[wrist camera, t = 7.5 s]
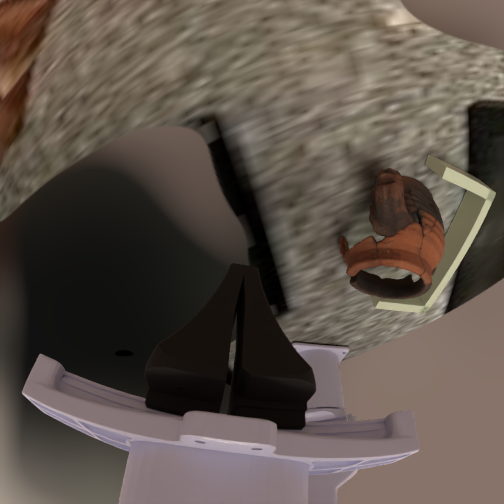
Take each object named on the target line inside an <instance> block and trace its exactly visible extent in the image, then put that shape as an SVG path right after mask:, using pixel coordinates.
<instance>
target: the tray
mask: <svg viewBox="0 0 504 504" xmlns="http://www.w3.org/2000/svg"><path fill="white" fill-rule="evenodd" d="M425 165H426V166H427V167H429V168H430V169H431V170H432V171H434V172H435V173H436V174H437V175H439V176H440V177H441V178H443V179H445V180H447V181H449V182H452V183H454V184H456V185H458V186H460V187H462V188H464V189H467V190H466V193H465V195H464V197H463V200H462V202H461V204H460V206H459V208H458V211H457V213H456V215H455V217H454V219H453V221H452V223H451V225H450V227H449V229H448V231H447V233H446V235H445V237H444V240H445V247H444V254H443V257H442V258H441V261H440V262H439V263H438V265H437V268H436V271H435V272H434V274H433V276H432V286H431V288H430V289H429V290H428V291H427V292H426V293H425V294H423V295H421V296H419V297H415V298H409V299H387V298H380V297H377V296H372V295H371V298H372V301H373V304H374V307H375V308H378V309H387V310H397V311H407V312H418V313H426V312H427V311H428V310H429V308H430V307H431V306H432V304H433V303H434V301H435V300H436V299H437V297H438V296H439V294H440V293H441V291H442V290H443V289H444V287H445V286H446V284H447V283H448V281H449V280H450V278H451V276H452V275H453V273H454V272H455V270H456V269H457V267H458V265H459V264H460V262H461V260H462V259H463V257H464V255H465V254H466V252H467V250H468V249H469V247H470V245H471V243H472V241H473V240H474V238H475V236H476V234H477V232H478V230H479V228H480V226H481V224H482V222H483V220H484V218H485V216H486V214H487V212H488V210H489V208H490V206H491V204H492V201H493V199H494V197H495V195H496V192H494V191H493V190H492V189H491V188H489V187H488V186H487V185H486V184H484V183H483V182H482V181H480V180H479V179H478V178H476V177H474V176H472V175H470V174H468V173H466V172H465V171H463V170H461V169H459V168H457V167H455V166H453V165H451V164H449V163H447V162H444V161H442V160H440V159H438V158H436V157H434V156H431V155H429V154H428V157H427V160H426V163H425Z"/></svg>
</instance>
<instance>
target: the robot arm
mask: <svg viewBox="0 0 504 504" xmlns="http://www.w3.org/2000/svg"><path fill="white" fill-rule="evenodd" d="M236 313H237V329H236V352H235V360H234V368H233V375H232V382H231V390H230V398H229V404H228V412H227V415H224V414H219V411H220V406H221V402H222V397H223V393H224V388H225V383H226V378H227V370H228V361H229V352H230V344H231V335H232V329H233V325H234V321H235V317H236ZM348 352H349V348H348V347H341V346H327V345H316V344H305V343H293V344H291V343H290V341H289V340H288V338H287V337H286V336H285V334H284V332H283V331H282V329H281V328H280V326H279V324H278V322H277V320H276V319H275V317H274V315H273V313H272V310H271V308H270V306H269V303H268V301H267V298H266V296H265V293H264V290H263V287H262V283H261V279H260V275H259V269H258V268H257V267H252V266H246V265H240V264H234V263H233V264H231V265H230V268H229V270H228V273H227V275H226V276H225V278H224V280H223V282H222V283H221V285H220V286H219V288H218V289H217V291H216V292H215V293H214V295H213V296H212V297H211V299H210V300H209V301H208V302H207V303H206V305H205V306H204V307H203V308H202V309H201V310H200V311H199V312H198V313H197V314H196V315H195V316H194V317H193V318H192V319H191V320H190V321H189V322H188V323H187V324H185V325H184V326H183V327H182V328H180V329H179V330H178V331H177V332H175V333H174V334H173V335H171V336H170V337H168V338H167V339H165V340H164V341H162V342H160V343H159V344H158V345H157V346H156V348H155V349H154V351H153V352H152V354H151V356H150V358H149V360H148V362H147V366H146V369H145V372H144V375H145V378H146V381H147V384H148V387H149V390H148V393H147V397H146V399H144V398H141V397H137V396H134V395H130V394H127V393H124V392H121V391H118V390H114V389H112V388H109V387H106V386H103V385H100V384H97V383H95V382H92V381H89V380H87V379H84V378H81V377H79V376H76V375H74V374H71V373H69V372H67V371H65V369H64V368H63V366H62V365H61V364H60V363H59V362H57V361H55V360H53V359H51V358H49V357H46V356H44V355H42V354H40V355H39V357H38V359H37V361H36V363H35V365H34V367H33V369H32V371H31V373H30V375H29V377H28V379H27V382H26V384H25V386H24V388H23V391H22V394H23V395H24V396H25V397H26V398H27V399H29V400H30V401H31V402H32V403H33V404H34V405H36V406H37V407H38V408H39V409H40V410H41V411H43V412H44V413H45V414H47V415H49V416H51V417H53V418H55V419H57V420H59V421H61V422H63V423H65V424H67V425H69V426H71V427H73V428H75V429H77V430H79V431H81V432H83V433H85V434H87V435H89V436H92V437H94V438H96V439H99V440H101V441H103V442H105V443H108V444H110V445H113V446H116V447H118V448H121V449H124V450H126V451H129V452H130V453H129V457H128V461H127V466H126V470H125V475H124V479H123V484H122V489H121V494H120V499H119V504H338V498H337V489H338V488H339V487H340V486H341V485H343V484H344V483H345V482H346V481H348V480H349V479H350V478H351V477H353V476H354V475H355V474H356V473H357V469H363V468H369V467H374V466H379V465H384V464H389V463H393V462H395V461H398V460H400V459H403V458H405V457H407V456H409V455H412V454H414V453H416V452H418V451H419V450H420V447H419V441H418V435H417V430H416V424H415V419H414V414H413V411H412V410H407V411H399V412H394V413H391V414H390V415H388V416H387V417H386V418H384V419H374V420H361V421H357V420H356V417H355V416H353V415H352V414H347V418H348V421H347V418H346V412H345V407H344V399H343V390H342V382H341V374H340V367H339V363H340V362H341V361H342V360H343V358H344V357H345V356H346V354H347V353H348Z"/></svg>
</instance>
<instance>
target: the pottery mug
mask: <svg viewBox="0 0 504 504" xmlns="http://www.w3.org/2000/svg"><path fill="white" fill-rule="evenodd" d="M371 198H372V200H371V201H372V205H371V206H370V215H369V220H370V222H371V224H372V226H373V229H374V231H375V232H376V234H378V235H380V236H385V238H384V239H383V240H381V241H379V242H376V240H375V239H374V237H373V236H369V237H367V238H366V239H364V240H363V241H361V242H359V243H357V244H355V245H354V246H353V247H352V248H351V249H349V248H348V242H347V241H346V239H345V238H344V237H340V243H339V244H340V247H341V248H340V252H341V254H342V256H343V259H344V262H345V264H346V265H347V267H348V269H347V272H346V273H347V275H350V276H351V279H350V284H351V285H352V286H353V287H354V288H356V289H358V290H359V291H361V292H363V293H366V294H369V295H372V296H377V297H380V298H387V299H409V298H415V297H419V296H421V295H423V294H425V293H426V292H427V291H428V290H429V289H430V288H431V286H432V276H433V274H434V272H435V271H436V268H437V265H438V263H439V262H440V261H441V258H442V257H443V254H444V247H445V240H444V226H443V221H442V218H441V214H440V212H439V208H438V207H437V205H436V203H435V202H434V200H433V197H432V194H431V193H430V191H429V190H428V189H427V188H426V187H425V186H424V185H423V184H422V183H420V182H419V181H417V180H415V179H411V178H408V177H404V176H401V175H400V173H399V172H398V171H395V170H393V169H390V168H388V169H386V170H381V171H379V172H378V173H377V174H376V176H375V180H374V187H373V188H372V192H371ZM414 211H415V212H416V215H417V217H418V220H419V223H418V222H416V221H413V216H412V214H411V213H412V212H414ZM382 265H383V266H390V267H397V268H401V269H405V270H408V271H411V272H414V273H415V274H417V275H419V276H420V277H421V278H420V279H419V280H418V281H416V282H413V280H412V275H411V274H410V275H408V276H406V277H405V278H403V279H391V278H384V279H381V278H380V277H379V276H377V275H374V274H370V273H367V272H365V271H363V270H362V269H366V268H370V267H376V266H382Z"/></svg>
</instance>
